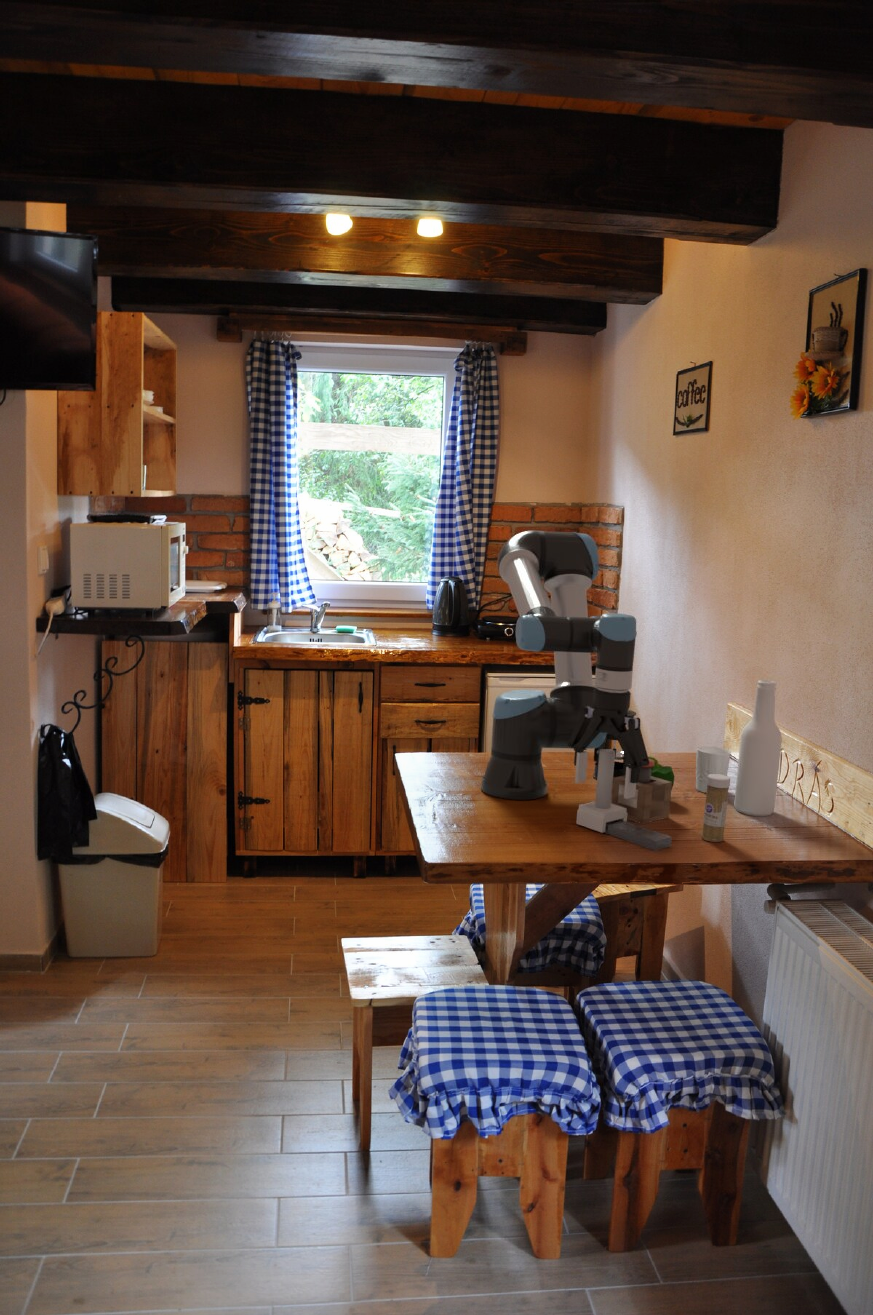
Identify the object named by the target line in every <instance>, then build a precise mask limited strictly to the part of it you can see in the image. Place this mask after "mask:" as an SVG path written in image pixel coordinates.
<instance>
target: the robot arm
mask: <svg viewBox="0 0 873 1315" xmlns="http://www.w3.org/2000/svg"><path fill="white" fill-rule="evenodd" d="M599 557H600V556H599V550H598V547H597V543H596V542H595V540H594V538H593V537H591V536H590V535H589V534H587V533H580V532H576V531H570V532H568V531H567V532H566V531H546V530H545V531H543V530H534V529H533V530H525V531H522V532H518V533H516V534H515V535H513V536H512V537H511V538H509V539H508V540H507V541H506V542H505V543H503V546H502V547H501V549H500V551H499V552H498V556H497V563H496V564H497V569H498V573H499V575H500V578H501V579H502V581H504V582H505V583H506V584H507V585H508V588H509V590H510V594H511V596H512V598H513V601H514V604H515V607H516V610H517V613H518V615H519V617H518V619H517V621H516V625H515V639H516V640H515V642H516V646H517V647H518V648H519V649H520V650H522V651H532V652H534V653H536V652H553V656H554V657H553V659H554V674H555V675H554V676H555V679H554V680H555V686H554V687H553V688H552V689H551V690H550V691H549V697H547V694H546V693H545V692H544V691H543V690H538V689H517V690H516V689H515V690H509V691H505V692H503V693H501V694H499V695H498V696H497V697H496V699H495V701H494V706H493V712H492V729H491V730H492V732H491V749H490V750H491V751H490V758H489V760H488V762H487V765H486V769H485V772H484V774H483V775H482V777H481V784H480V785H481V786H480V787H481V788H480V790H481V791H483V793H485V794H487V795H489V796H492V797H495V798H501V799H507V800H518V801H519V800H520V801H521V800H522V801H524V800H535V799H540V798H542V797H543V798H544V797H545V796H546V795H547V790H548V788H547V787H548V784H547V783H548V782H547V780H546V779H545V772H544V768H543V762H542V754H543V753H542V751H543V749H571V750H573V751H574V760H573V765H574V766H575V772H574V773H575V774H574V783H575V784H580V783H584V782H587V772H588V770H587V769H588V757H589V751H587V750H588V749H589V750H590V749H594V748H598V747H599V746H601V745H602V743H603V742H604V740H605V738H606V735H607V734H609V735H614V737H615V738H616V739H617V740H616V741H617V742H618V744H619V746H620V748H621V750H622V751H623V752H624V754H625V756H626V759H627V761H628V763H629V765H630V766H629V767H626V778H625V789H624V798H626V799H628V798H632V797H635V792H636V783H638V782H639V777H640V768H641V767H642V766H647V765H649V759H648V757H649V755H648V752H647V749H646V744H645V741H644V736H643V733H642V730H641V718H640V717H634V718H628V715H627V711H628V710H630V707H631V697H632V696H631V695H632V693H631V692H630V691H629V690H631V689H632V686H633V684H632V683H633V670H634V668H633V667H634V662H635V660H634V659H635V648H636V640H637V639H636V638H637V635H638V634H637V632H638V631H637V619H636V618H635V616H633V615H630V614H625V613H615V612H614V613H611V612H610V613H609V612H608V613H603V614H601V615H600V616H599V615H593V616H590V617H589V616H588V614H589V612H588V601H587V600H588V599H587V598H588V597H587V591H588V590H589V589H590V588H591V587H592V584H593V581H594V580H596V579H597V577H598V575H599V568H600V567H599V562H600V559H599ZM542 580H543V581H542ZM547 592H548V593H549V594H550V596H549V595H548V593H547ZM549 597H550V598H549ZM591 654H596V663H595V675H594V683H593V671H592V657H591ZM627 729H628V730H627ZM621 731H622V733H620V732H621ZM628 731H629V732H628ZM629 736H630V737H629Z"/></svg>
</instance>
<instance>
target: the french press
mask: <svg viewBox="0 0 873 1315" xmlns="http://www.w3.org/2000/svg"><path fill="white" fill-rule="evenodd" d="M627 715H628V718H635V716H637V712H635V711H633V710H631V709H628V711H627ZM627 730H628V728H627ZM628 732H629V731H628ZM620 733H622V731H621V732H620ZM629 737H630V736H629ZM607 740H610V741H614V743H613V744H614V745H613V748H612V749H611V748H609V749H610V750H614V751H615V760H614V772H613V778H615V777H620V776H624V775H626V767H629V766H630V765H629V763H628V761H627V759H626V756H625V754H624V752H623V750H622V749H617V748H616V747H617V746H616V744H617V741H618V740H617V739H616V738H615V737H614V735H609V734H607V735H606V738H605V740H604V742H603V743H602V745H601V746H599V747H598V748H593V761H594V762H595V763H594V770H593V771H594V772H593V775H592V778H594V780H596V781H597V777H598V764H599V752H600V750H601V749H606V746H607V744H606V743H607ZM616 760H618V761H616ZM619 760H621V761H622V760H623V761H622V762H621V761H619Z"/></svg>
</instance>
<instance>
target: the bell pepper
mask: <svg viewBox="0 0 873 1315" xmlns="http://www.w3.org/2000/svg"><path fill="white" fill-rule="evenodd" d="M648 759H652V760H654V761H655V762H654V767H651V775H650V776H653V777H657V778H660V779H663V780H667V781H670V782H672V788H671V792H672V791H673V788H674V783H675V774H674V771H673V768H672V766H669V765H664V766H663V765H662V764H660V763H659V761H658V759H656V758H655V757H654V756H653V757H652V756H648Z"/></svg>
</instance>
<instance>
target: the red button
mask: <svg viewBox="0 0 873 1315" xmlns="http://www.w3.org/2000/svg"><path fill="white" fill-rule="evenodd" d="M654 762H655V761H654V760H652V759H649V765H647V766H642V767H641V768H640V777H639V782H640V783H643V784H646V783H650V775H651V767H654Z"/></svg>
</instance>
